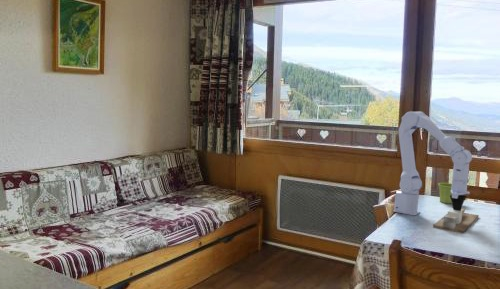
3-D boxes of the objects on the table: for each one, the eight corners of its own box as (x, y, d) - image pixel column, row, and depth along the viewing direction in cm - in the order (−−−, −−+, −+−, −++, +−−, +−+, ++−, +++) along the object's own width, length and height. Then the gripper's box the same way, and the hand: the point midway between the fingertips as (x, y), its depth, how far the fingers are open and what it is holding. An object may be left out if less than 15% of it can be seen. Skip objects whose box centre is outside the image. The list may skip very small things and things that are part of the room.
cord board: (433, 227, 182) (434, 214, 181) (451, 212, 206) (452, 201, 205) (463, 233, 175) (464, 220, 175) (478, 217, 200) (479, 206, 199)
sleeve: (446, 222, 185) (447, 211, 185) (449, 219, 189) (450, 209, 189) (458, 224, 183) (459, 213, 182) (461, 221, 187) (462, 211, 186)
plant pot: (458, 202, 227) (460, 184, 226) (455, 205, 219) (457, 187, 218) (438, 199, 232) (440, 182, 231) (434, 202, 224) (436, 184, 223)
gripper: (467, 184, 179) (463, 218, 180) (474, 179, 190) (470, 211, 192) (447, 181, 183) (444, 214, 184) (455, 176, 195) (452, 208, 196)
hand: (456, 212), depth 189 cm, fingers closed
